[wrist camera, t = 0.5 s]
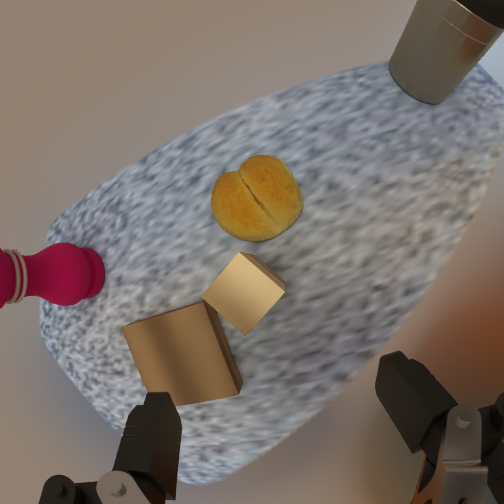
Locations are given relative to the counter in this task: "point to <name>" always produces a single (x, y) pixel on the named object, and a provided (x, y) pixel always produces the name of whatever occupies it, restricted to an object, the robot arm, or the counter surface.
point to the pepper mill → (51, 274)
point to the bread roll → (257, 199)
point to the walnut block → (184, 355)
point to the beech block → (244, 291)
